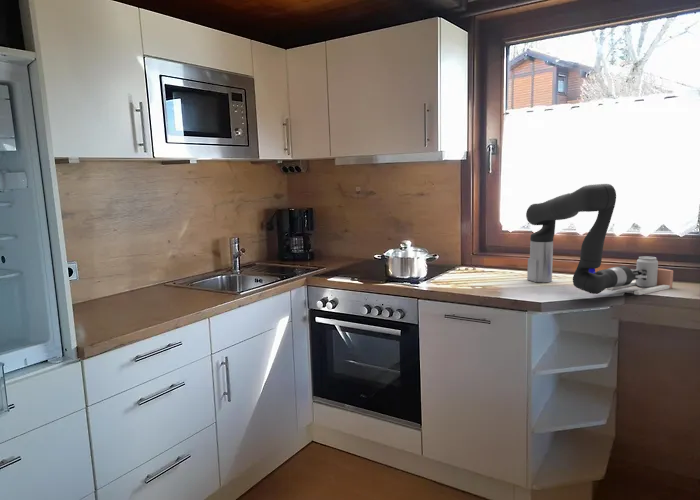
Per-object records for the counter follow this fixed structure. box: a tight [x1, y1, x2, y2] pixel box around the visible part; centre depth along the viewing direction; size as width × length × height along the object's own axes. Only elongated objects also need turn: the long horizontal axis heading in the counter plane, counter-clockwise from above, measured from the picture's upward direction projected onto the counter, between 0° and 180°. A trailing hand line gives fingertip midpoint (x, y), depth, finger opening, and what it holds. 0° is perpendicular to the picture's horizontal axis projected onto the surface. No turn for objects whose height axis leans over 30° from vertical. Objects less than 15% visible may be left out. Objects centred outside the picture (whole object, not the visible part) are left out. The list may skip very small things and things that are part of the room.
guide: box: [606, 267, 674, 296], centre depth 205 cm, size 22×13×7 cm, turn 120°
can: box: [635, 255, 659, 289], centre depth 208 cm, size 8×8×12 cm
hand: (644, 271), depth 205 cm, fingers closed
